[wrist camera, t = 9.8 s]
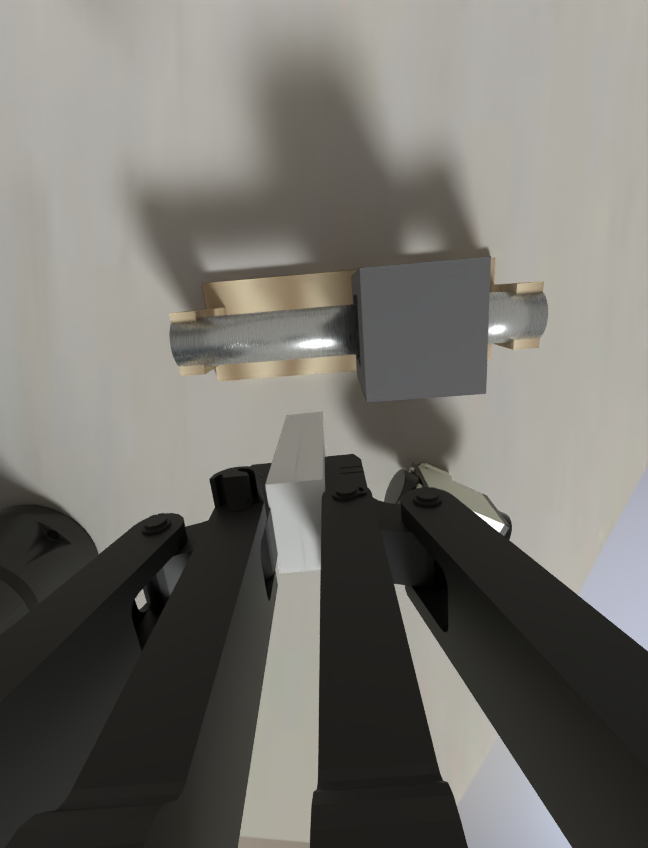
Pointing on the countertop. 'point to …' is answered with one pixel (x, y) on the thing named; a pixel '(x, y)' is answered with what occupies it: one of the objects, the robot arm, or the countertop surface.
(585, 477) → the countertop surface
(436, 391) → the collar
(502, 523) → the pneumatic valve
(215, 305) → the pipe rig
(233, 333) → the pipe
